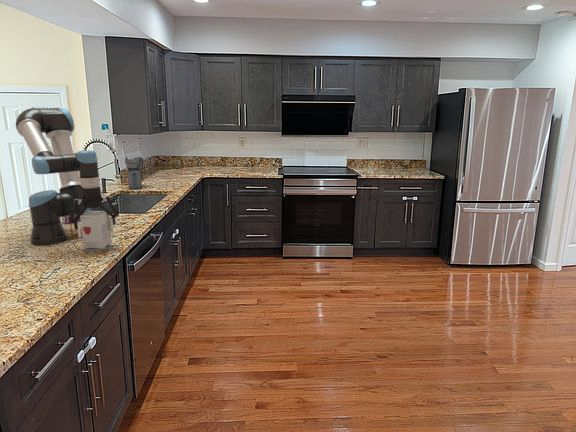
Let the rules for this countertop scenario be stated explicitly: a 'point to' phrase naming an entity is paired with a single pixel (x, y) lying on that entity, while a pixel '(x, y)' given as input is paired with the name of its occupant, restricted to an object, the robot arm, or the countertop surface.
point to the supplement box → (96, 229)
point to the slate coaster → (98, 249)
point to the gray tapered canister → (134, 173)
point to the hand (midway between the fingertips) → (96, 234)
